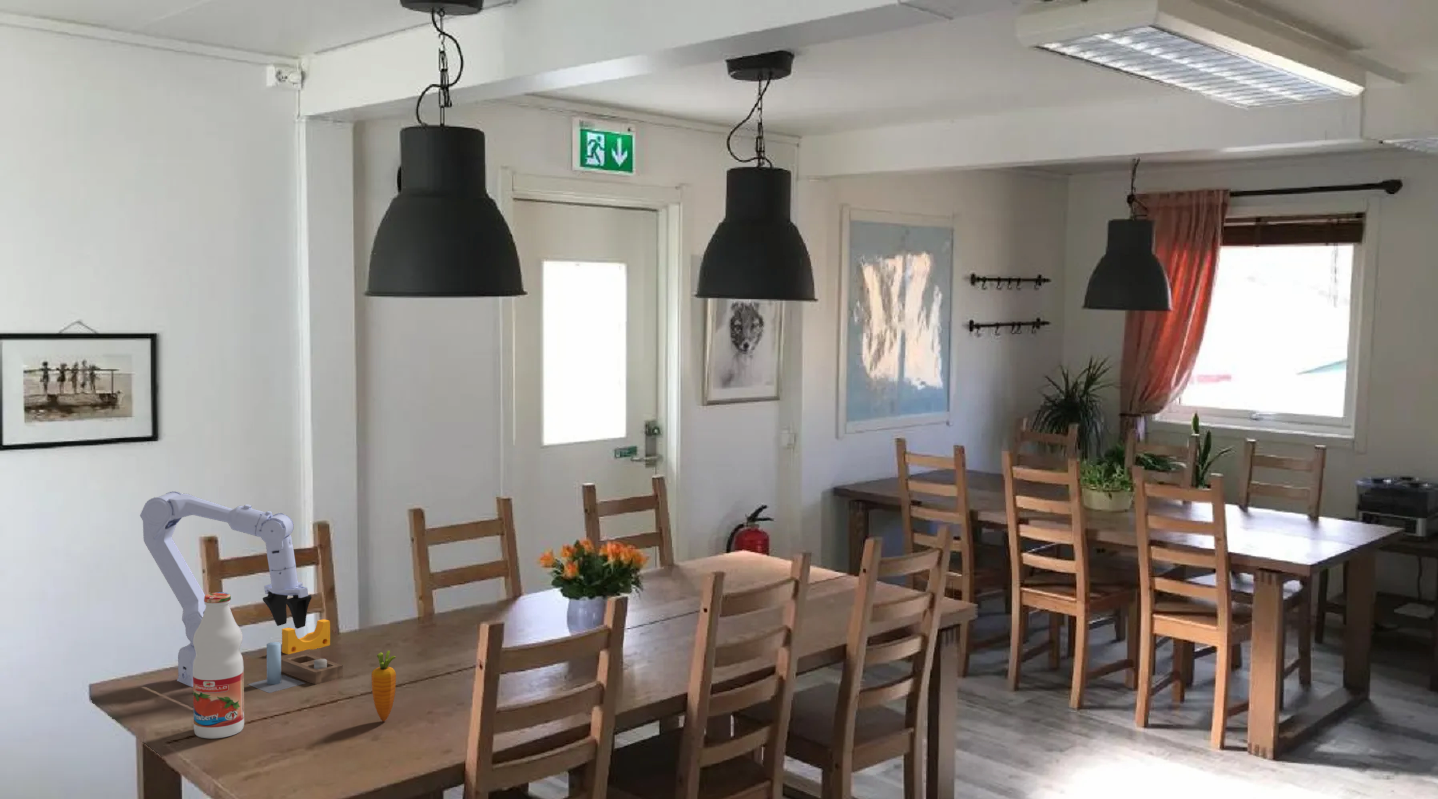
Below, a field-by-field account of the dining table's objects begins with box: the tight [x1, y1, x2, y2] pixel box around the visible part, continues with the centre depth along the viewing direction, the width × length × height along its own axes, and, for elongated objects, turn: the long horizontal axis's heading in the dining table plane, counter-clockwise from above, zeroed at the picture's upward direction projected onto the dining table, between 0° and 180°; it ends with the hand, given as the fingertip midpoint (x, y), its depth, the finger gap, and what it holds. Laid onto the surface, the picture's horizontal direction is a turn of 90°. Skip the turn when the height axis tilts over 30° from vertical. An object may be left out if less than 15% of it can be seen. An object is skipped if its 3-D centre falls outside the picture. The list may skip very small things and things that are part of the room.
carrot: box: [371, 650, 397, 723], centre depth 244 cm, size 5×5×15 cm
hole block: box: [281, 653, 344, 686], centre depth 272 cm, size 7×14×4 cm, turn 52°
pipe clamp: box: [281, 618, 331, 655], centre depth 293 cm, size 12×4×6 cm, turn 144°
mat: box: [247, 674, 306, 694], centre depth 265 cm, size 9×9×1 cm
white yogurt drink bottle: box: [192, 591, 245, 740], centre depth 236 cm, size 9×9×28 cm
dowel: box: [266, 641, 282, 685], centre depth 266 cm, size 3×3×9 cm
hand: (291, 626), depth 268 cm, fingers open, 7 cm apart
